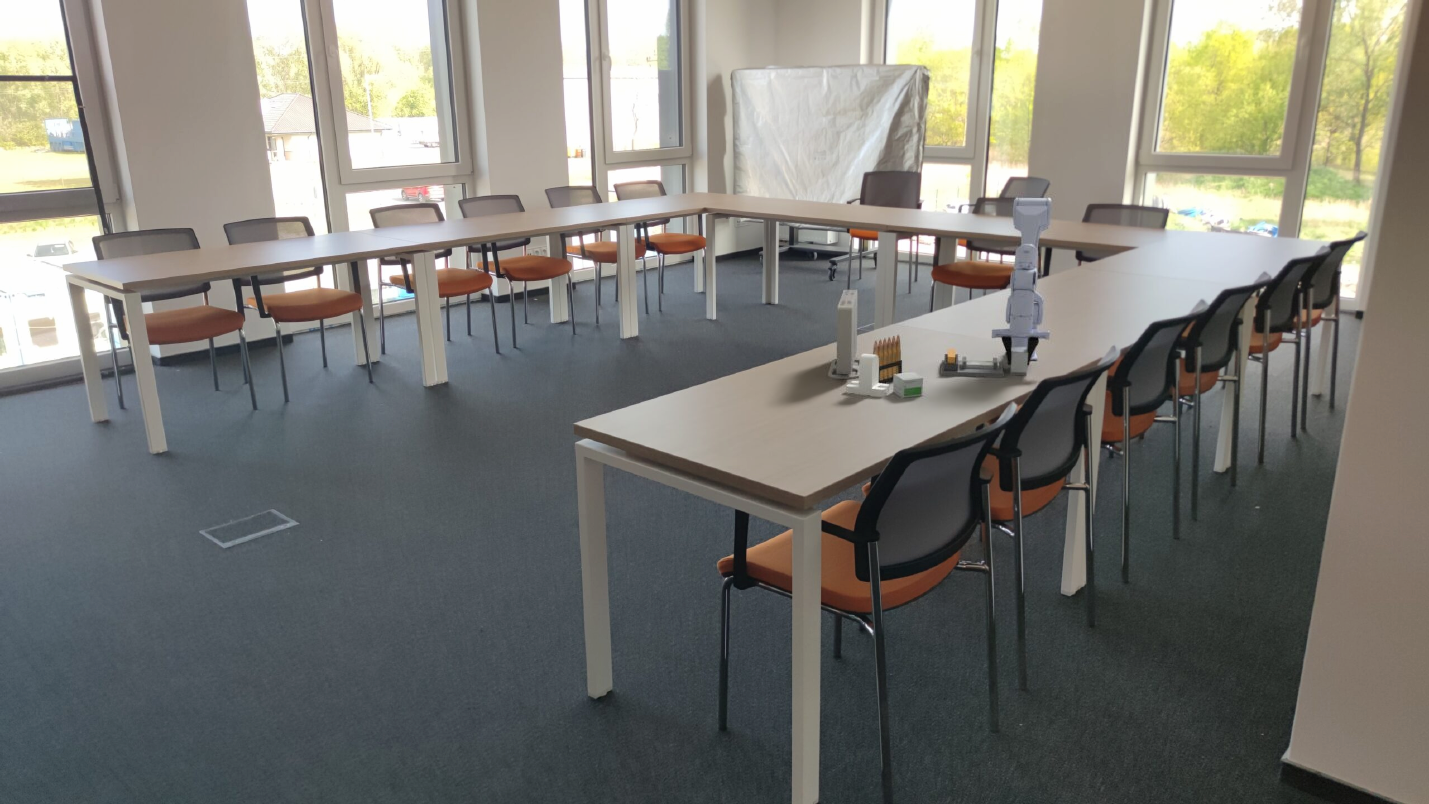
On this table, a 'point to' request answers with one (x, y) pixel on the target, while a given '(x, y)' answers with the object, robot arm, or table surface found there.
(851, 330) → the network device
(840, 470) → the table surface
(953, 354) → the locking tab
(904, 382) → the small box
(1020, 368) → the block
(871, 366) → the cable organizer
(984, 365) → the gray slotted fixture
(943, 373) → the mounting board
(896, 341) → the ammunition clip
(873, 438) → the table surface
